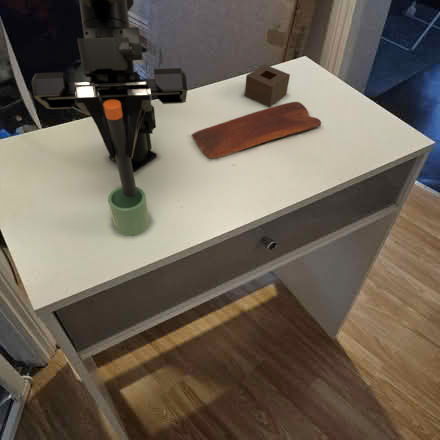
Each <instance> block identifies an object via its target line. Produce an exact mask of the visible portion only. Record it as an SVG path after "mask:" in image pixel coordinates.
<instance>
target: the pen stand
mask: <svg viewBox="0 0 440 440" xmlns="http://www.w3.org/2000/svg"><path fill="white" fill-rule="evenodd" d="M290 77H291V74H289V73H287V72H285V71H282V70H280V69H278V68H275V67H273V66H270V65H268V64H262V65H261V66H259V67H257V68H256V69H254V70H252V71H251V72H249V73H247V74H246V75H245V86H244V97H246V98H248V99H250V100H253V101H254V102H257V103H259V104H262V105H264V106H266V107H268V108H271V107H273V106H274V105H275V104H276V103H278V102H279V101H280V100H281V99H283V98H284V97H286V96H287V94H288V89H289V83H290Z"/></svg>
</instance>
